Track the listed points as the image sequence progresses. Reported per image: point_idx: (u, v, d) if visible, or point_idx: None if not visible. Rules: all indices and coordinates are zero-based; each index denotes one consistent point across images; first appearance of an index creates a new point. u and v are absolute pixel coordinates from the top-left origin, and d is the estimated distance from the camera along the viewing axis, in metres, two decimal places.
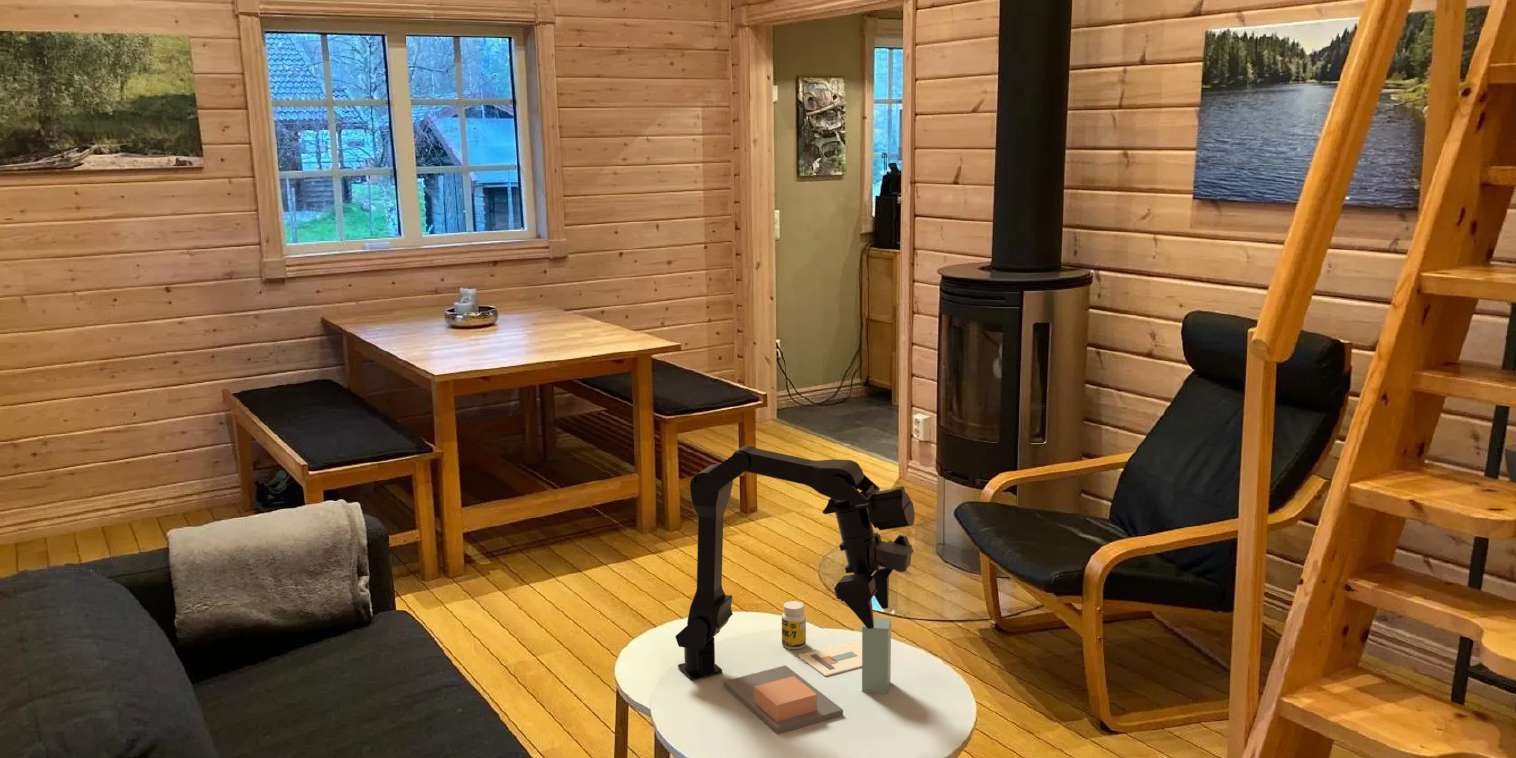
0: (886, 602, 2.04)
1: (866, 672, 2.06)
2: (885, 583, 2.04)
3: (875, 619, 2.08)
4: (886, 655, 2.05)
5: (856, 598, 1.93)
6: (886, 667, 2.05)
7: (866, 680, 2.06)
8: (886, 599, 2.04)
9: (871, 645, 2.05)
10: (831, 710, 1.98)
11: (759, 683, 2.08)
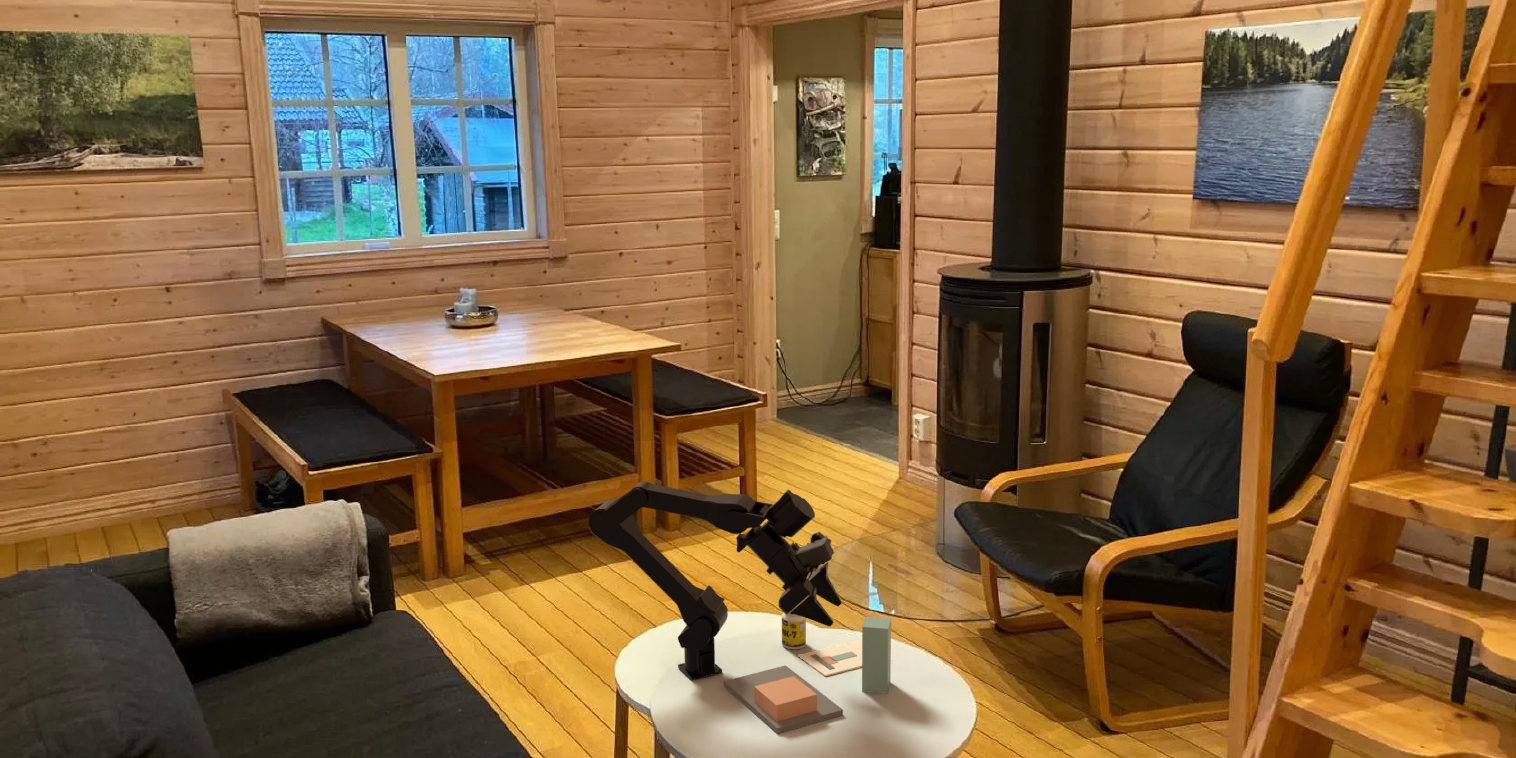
0: (837, 598, 2.12)
1: (866, 672, 2.06)
2: (827, 582, 2.12)
3: (875, 619, 2.08)
4: (886, 655, 2.05)
5: (802, 604, 2.00)
6: (886, 667, 2.05)
7: (866, 680, 2.06)
8: (836, 596, 2.12)
9: (871, 645, 2.05)
10: (831, 710, 1.98)
11: (759, 683, 2.08)
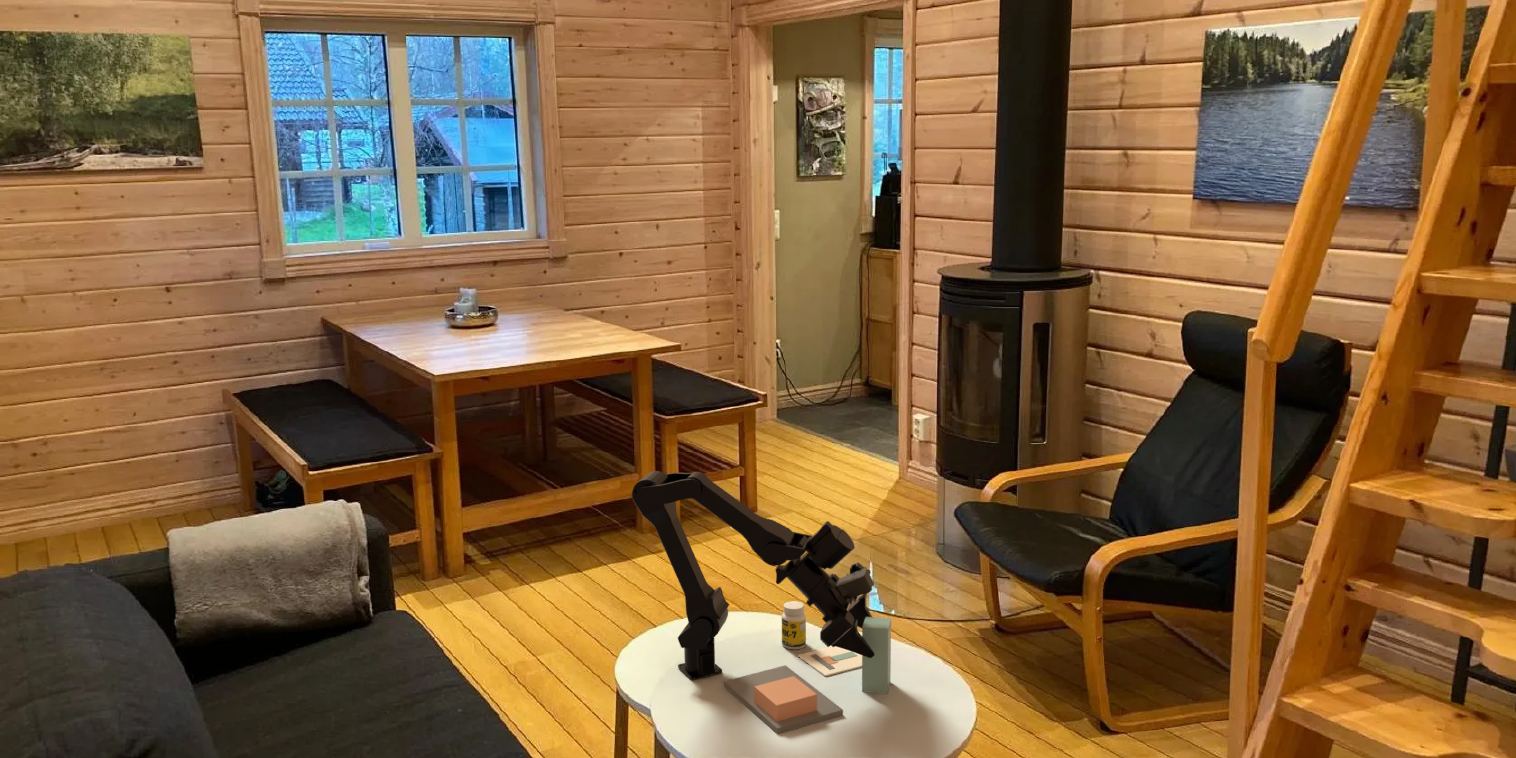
0: None
1: (866, 672, 2.06)
2: (866, 613, 2.12)
3: (875, 619, 2.08)
4: (886, 655, 2.05)
5: (843, 636, 2.00)
6: (886, 667, 2.05)
7: (866, 680, 2.06)
8: None
9: (871, 645, 2.05)
10: (831, 710, 1.98)
11: (759, 683, 2.08)
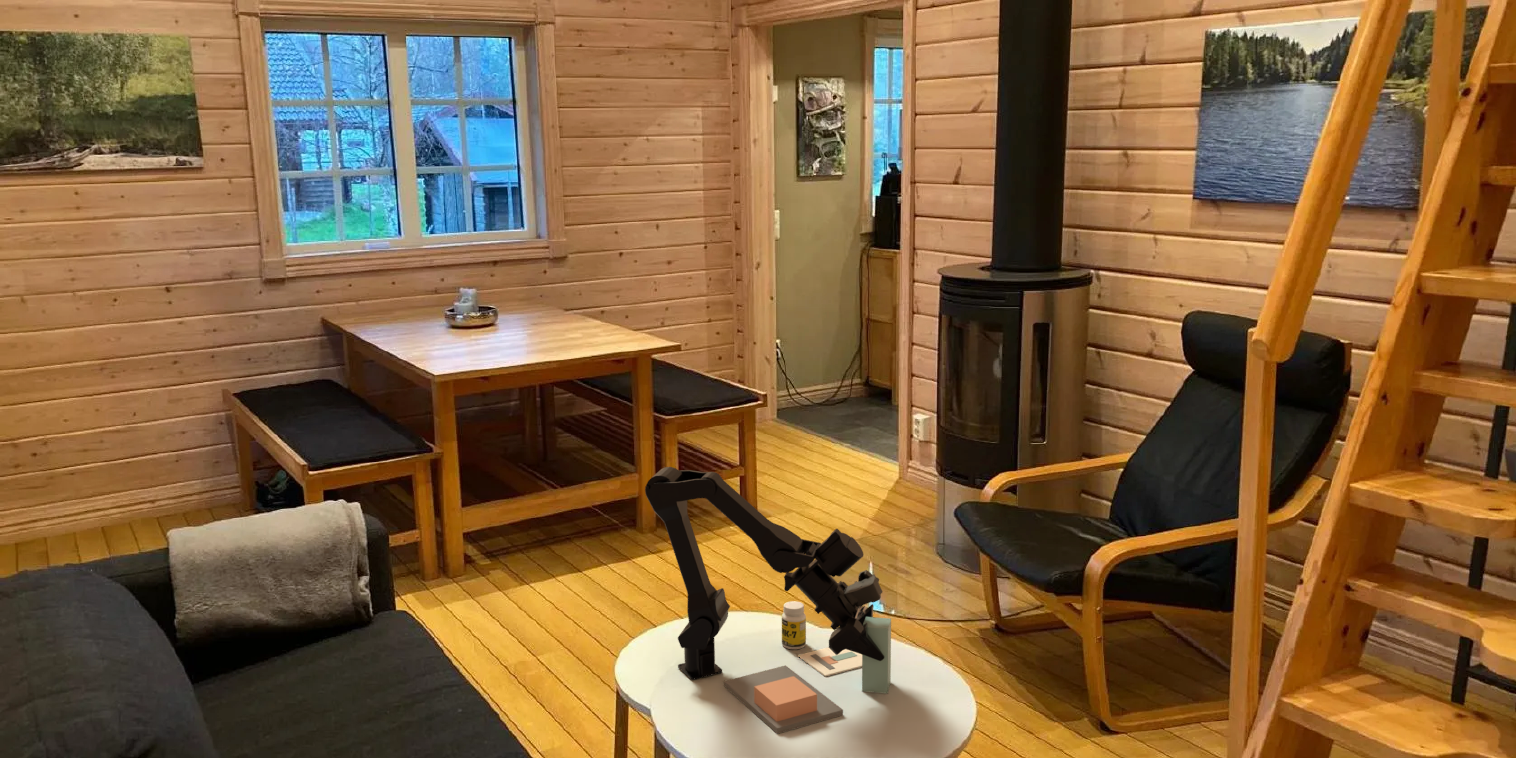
0: None
1: (866, 672, 2.06)
2: None
3: (875, 619, 2.08)
4: (886, 655, 2.05)
5: (853, 639, 2.02)
6: (886, 667, 2.05)
7: (866, 680, 2.06)
8: None
9: None
10: (831, 710, 1.98)
11: (759, 683, 2.08)
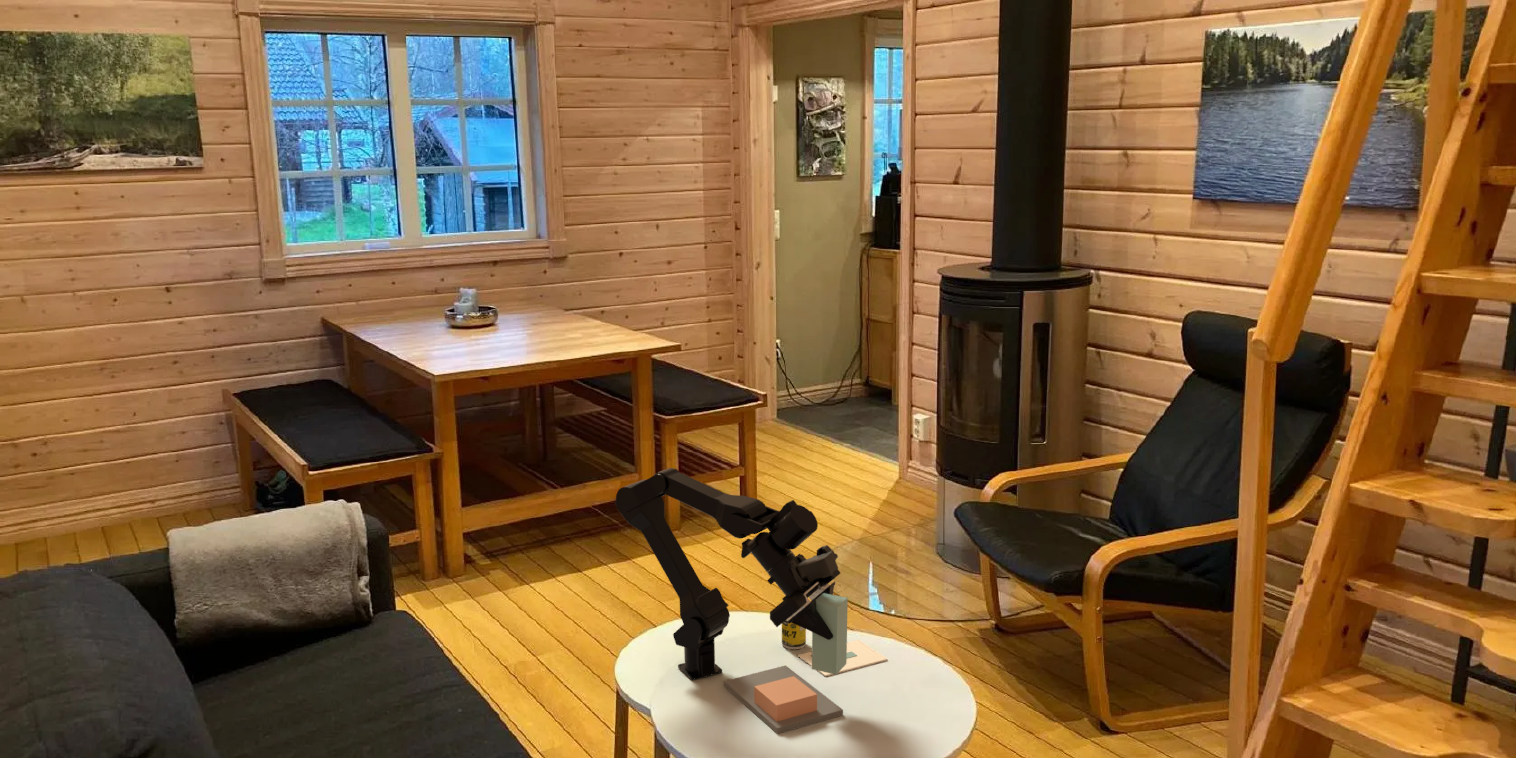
0: None
1: (816, 649, 1.99)
2: None
3: (831, 596, 2.00)
4: (835, 634, 1.97)
5: (798, 614, 1.95)
6: (835, 647, 1.97)
7: (816, 658, 1.99)
8: None
9: None
10: (831, 710, 1.98)
11: (759, 683, 2.08)
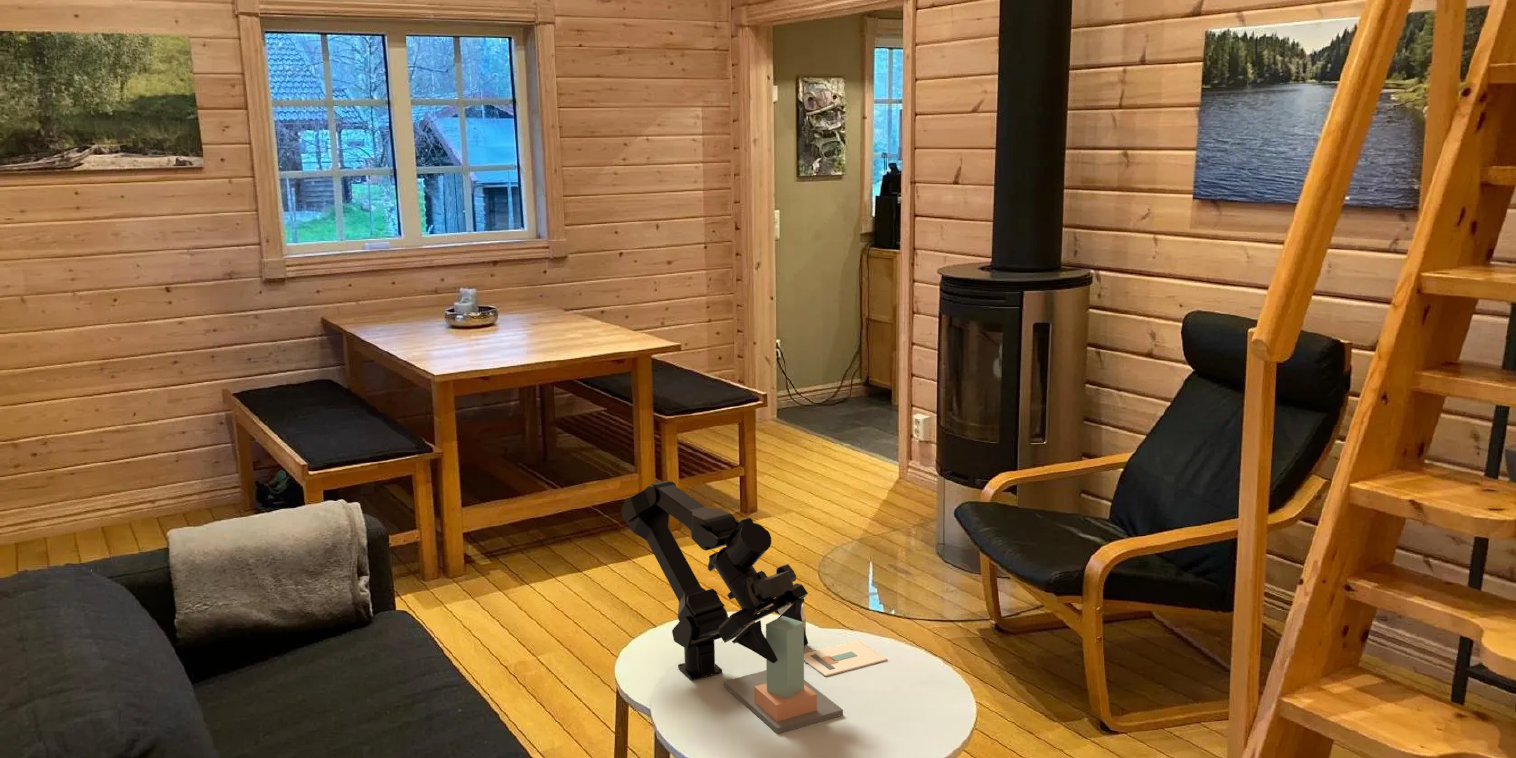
0: None
1: (769, 672, 1.98)
2: (796, 619, 2.01)
3: (787, 620, 1.98)
4: (786, 658, 1.95)
5: (741, 634, 1.93)
6: (786, 671, 1.95)
7: (770, 680, 1.98)
8: None
9: (773, 645, 1.96)
10: (831, 710, 1.98)
11: (759, 683, 2.08)
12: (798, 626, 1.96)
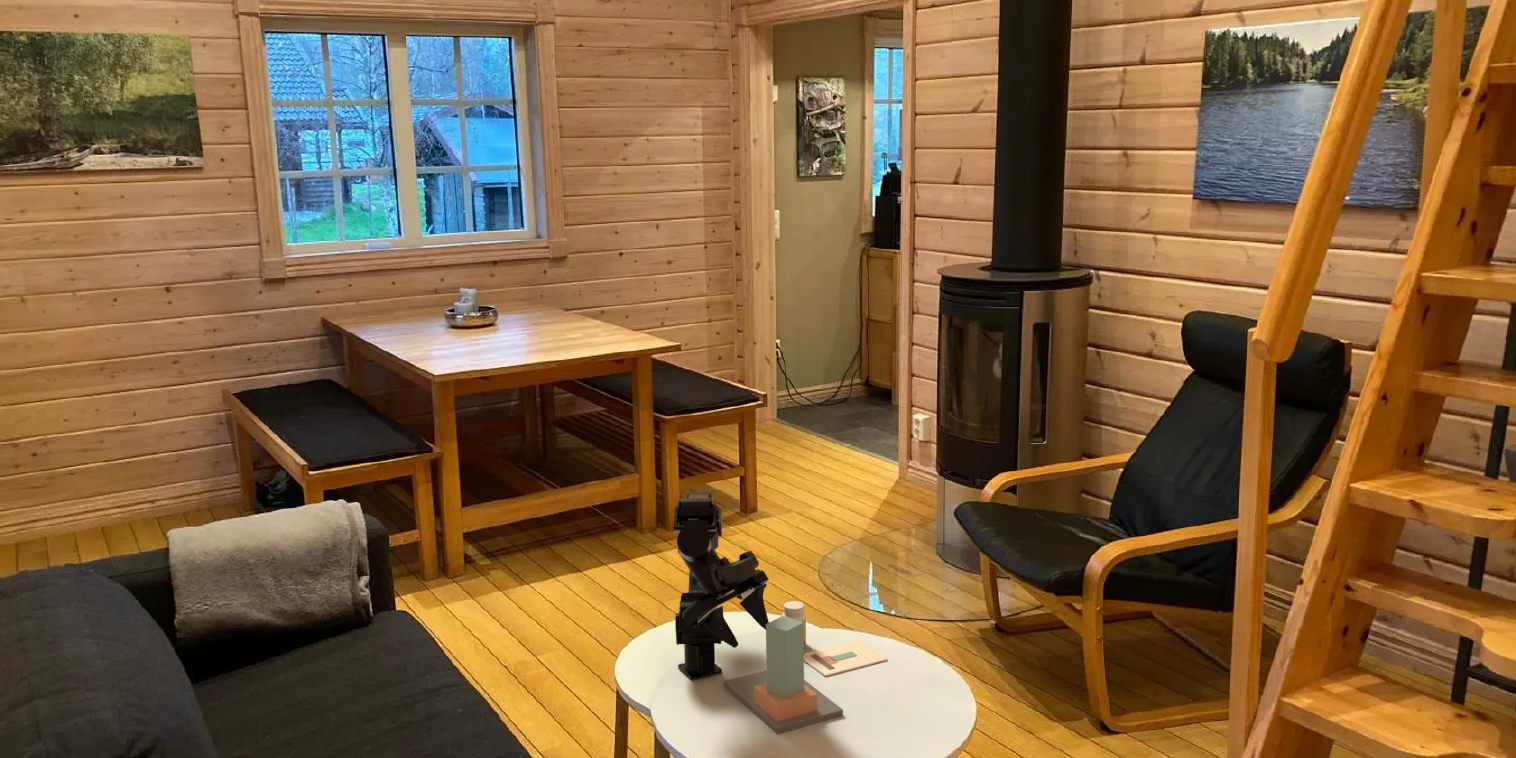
0: (765, 622, 2.06)
1: (769, 672, 1.98)
2: (758, 604, 2.07)
3: (787, 620, 1.98)
4: (786, 658, 1.95)
5: (703, 620, 1.98)
6: (786, 671, 1.95)
7: (770, 680, 1.98)
8: (764, 619, 2.06)
9: (773, 645, 1.96)
10: (831, 710, 1.98)
11: (759, 683, 2.08)
12: (798, 626, 1.96)
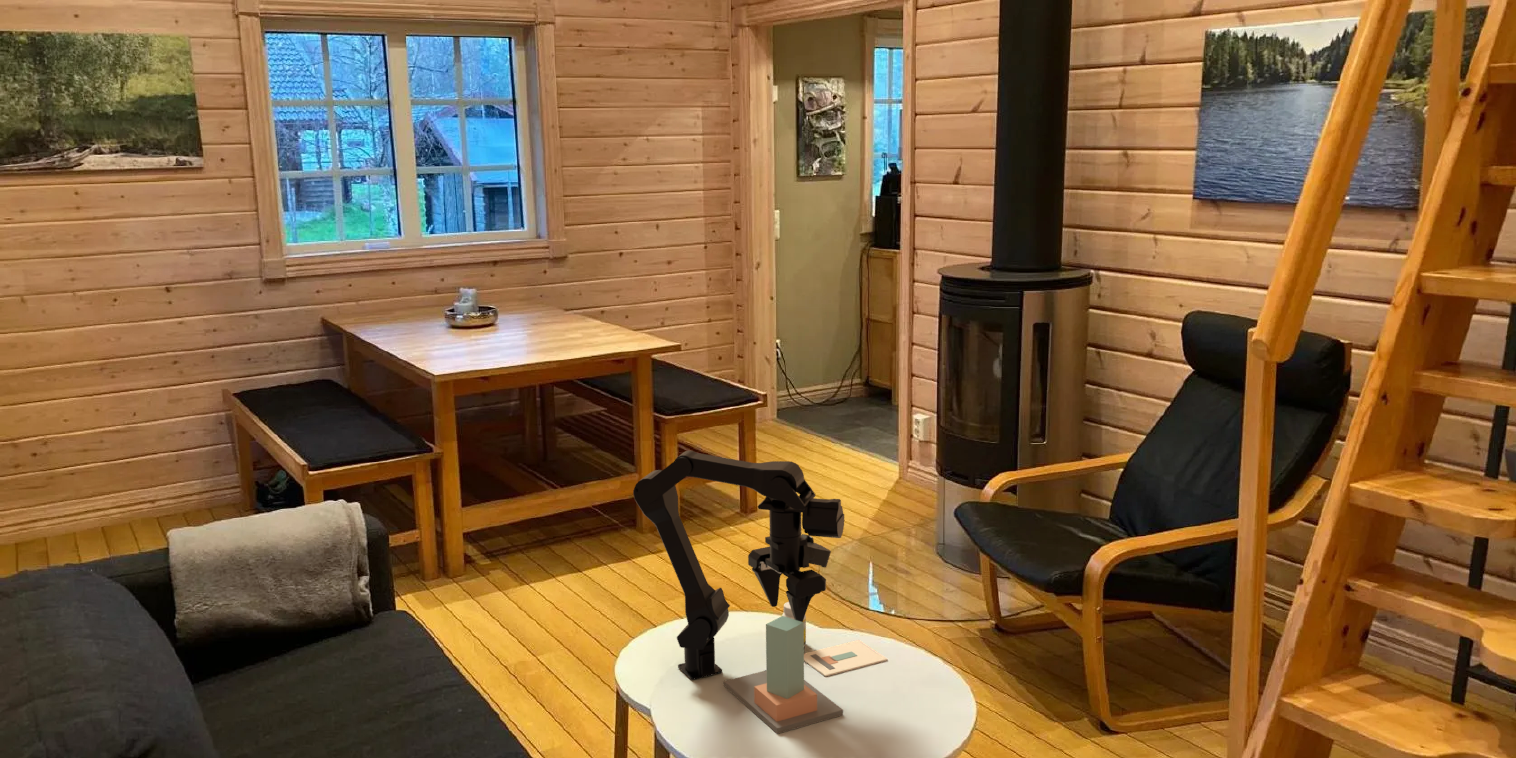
0: (777, 600, 2.13)
1: (769, 672, 1.98)
2: (777, 581, 2.13)
3: (787, 620, 1.98)
4: (786, 658, 1.95)
5: (809, 594, 2.01)
6: (786, 671, 1.95)
7: (770, 680, 1.98)
8: (777, 597, 2.13)
9: (773, 645, 1.96)
10: (831, 710, 1.98)
11: (759, 683, 2.08)
12: (798, 626, 1.96)
